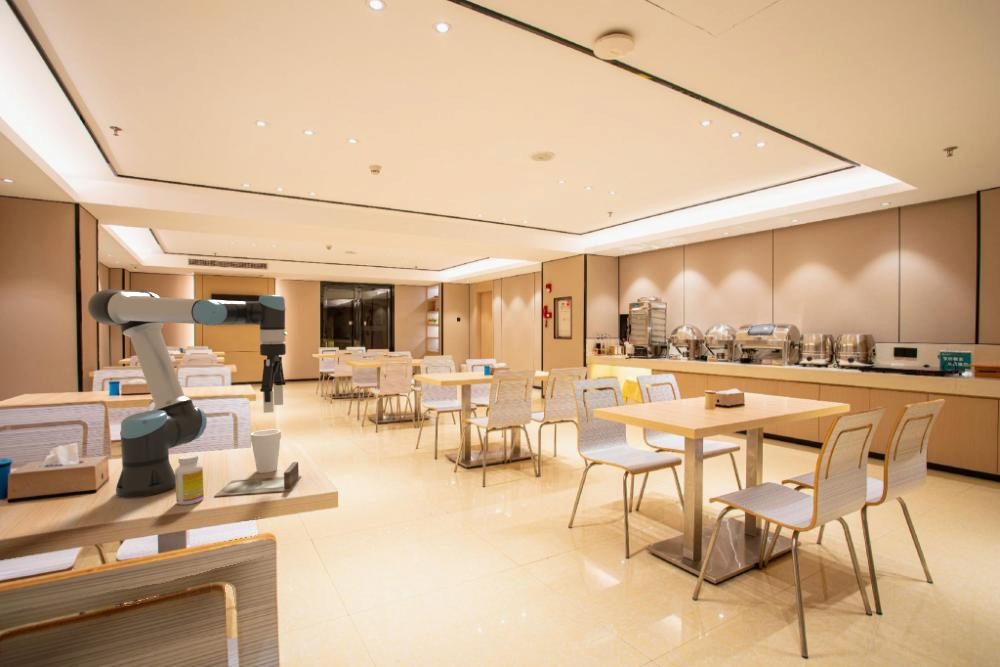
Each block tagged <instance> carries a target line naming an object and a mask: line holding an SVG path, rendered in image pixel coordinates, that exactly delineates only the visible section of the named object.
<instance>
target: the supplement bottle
mask: <svg viewBox="0 0 1000 667" xmlns="http://www.w3.org/2000/svg"><path fill="white" fill-rule="evenodd" d="M198 461H199V455H198V454H187V455H183V456H179V457H178V464H179V466H178V467H176V468H175V471H174V473H175V479H176V486H175V492H176V493H175V494H176V495H175V498H176V499H175V500H176V503H177V504H178V505H180V506H181V505H182V506H183V505H185V506H187V505H193V504H197V503H199V502H201V501H203V499H204V498H205V497H204V496H205V494H204V493H205V492H204V491H205V490H204V476H203V475H204V473H203V472H204V470H203V465H202V464H200V463H198Z"/></svg>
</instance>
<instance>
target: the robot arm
mask: <svg viewBox="0 0 1000 667" xmlns="http://www.w3.org/2000/svg"><path fill="white" fill-rule="evenodd" d="M285 301H286V300H285V297H284V296H282V295H279V294H277V295H276V294H262V295H259V298H258V301H257V300H256V301H247V300H245V301H243V300H241V301H239V300H222V299H212V298H211V299H210V298H209V299H208V298H207V299H199V298H183V297H182V298H181V297H180V298H179V297H178V298H177V297H160V296H159V295H158V294H156V293H154V292H152V291H146V290H142V289H141V290H140V289H138V290H137V289H136V290H134V289H133V290H131V289H118V288H108V289H102V290H99V291H97V292H96V293H94V294H93V295H92V296H91V297H90V299H89V300H88V304H87V310H88V313H89V314H90V317H91V318H92V319H93V320H95V321H96V323H97V322H98V323H99V324H102V325H105V326H119V327H120V330H121V331H122V332H121V333H122V335H124V336H125V337H128V338H130V341H131V343H132V346H133V349H134V352H135V354H136V357H137V359H138V362H139V365H140V368H141V370H142V374H143V376H144V378H145V381H146V384H147V388H148V390H149V392H150V395H151V398H152V401H153V404H154V407H153V408H152V410H147V411H141V412H137V413H133V414H131V415H128V416H127V417H125V418H123V420H122V421H121V423H120V433H119V435H120V446H121V447H120V448H121V464H122V466H121V468H122V469H121V472H120V474H119V477H118V482H117V483H116V486H115V492H116V493H115V496H116V497H117V498H122V499H132V498H133V499H134V498H143V497H149V496H153V495H158V494H161V493H164V492H167V491H170V490H172V489H174V488H176V479H175V471H174V470H173V467H172V465H171V463H170V457H169V455H170V454H169V453H170V452H169V450H170V449H173V448H176V447H178V446H182V445H187V444H189V443H191V442H193V441H195V440H197V439H199V438H200V437H201V436H202V435H203V434H204V432H205V429H206V428H207V423H208V420H207V414H206V413H205V412H204V410H203V409H202V408H200V407H199V406H196V405H195V406H194V403H193V399H192V398H190V397H188V396H185V394H184V393H185V392H184V391H183V388H182V385H181V383H180V380H179V377H178V375H177V371H176V368H175V367H174V363H173V361H172V358H171V355H170V353H169V350H168V347H167V345H166V342H165V339H164V335H163V334H162V329H163V327H164V325H165V323H167V324H168V323H171V324H172V323H173V324H174V323H175V324H188V325H189V324H191V325H193V324H194V325H202V326H207V327H208V326H209V327H210V326H214V327H215V326H223V325H224V326H230V325H231V326H233V325H234V326H241V325H243V326H244V325H246V326H248V325H259V342H260V345H259V354H260V356H264V357H266V359H263V369H262V379H261V388H260V390H259V391H260V393H263V395H262V398H263V413H265V414H267V413H274V406H283V405H284V386H285V385H286V381H285V375H284V367H283V357H282V356H284V355H286V353H287V350H286V349H287V347H286V346H287V345H286V343H284V342H286V336H288V332H286V302H285Z"/></svg>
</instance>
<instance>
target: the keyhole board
mask: <svg viewBox="0 0 1000 667" xmlns="http://www.w3.org/2000/svg"><path fill="white" fill-rule="evenodd" d="M301 478H302V475H300V474H299V461H293V462H292V463H291V464H290V465H289V466H288V467H287V468H286V469H285V471H284V472H283V476H280V477H278V476H277V477H264V478H263V477H262V478H252V479H251V478H249V479H238V480H237V479H235V480H230V482H229V483H228V484H226V485H225V486H224V487H222V489H220V490H219V491H218V492H217V493H215V494H214V496H213V498H221V497H233V496H235V497H236V496H245V495H246V496H249V495H261V494H263V495H264V494H273V493H289V492H291V491H292V490H293V489H294V487H295V486H296V485H297V483H298V482H299V481H300V479H301Z"/></svg>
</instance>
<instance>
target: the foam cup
mask: <svg viewBox="0 0 1000 667" xmlns="http://www.w3.org/2000/svg"><path fill="white" fill-rule="evenodd" d="M281 431H282V430H280V429H273V428H271V429H270V428H269V429H262V430H257V431H253V432H251V433H250V442H251V446H252V452H253V458H254V462H255V467H256V472H257V473H262V474H264V473H272V472H275V471H276V470H278V467H279V465H278V464H279V456H280V446H281V444H280V443H281V438H282V432H281Z"/></svg>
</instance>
